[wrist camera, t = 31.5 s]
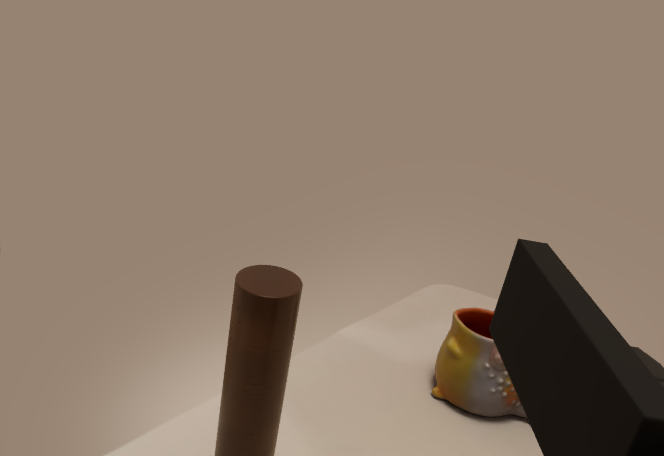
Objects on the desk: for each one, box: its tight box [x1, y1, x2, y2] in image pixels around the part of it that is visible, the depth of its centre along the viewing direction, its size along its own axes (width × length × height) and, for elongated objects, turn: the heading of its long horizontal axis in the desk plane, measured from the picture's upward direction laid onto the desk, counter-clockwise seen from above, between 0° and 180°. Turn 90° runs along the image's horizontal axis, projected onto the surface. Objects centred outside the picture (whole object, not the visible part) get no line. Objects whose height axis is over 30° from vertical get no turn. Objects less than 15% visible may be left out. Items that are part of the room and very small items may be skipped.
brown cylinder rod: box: [215, 265, 302, 456], centre depth 29 cm, size 4×4×16 cm
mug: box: [432, 308, 527, 418], centre depth 45 cm, size 12×7×7 cm, turn 56°
